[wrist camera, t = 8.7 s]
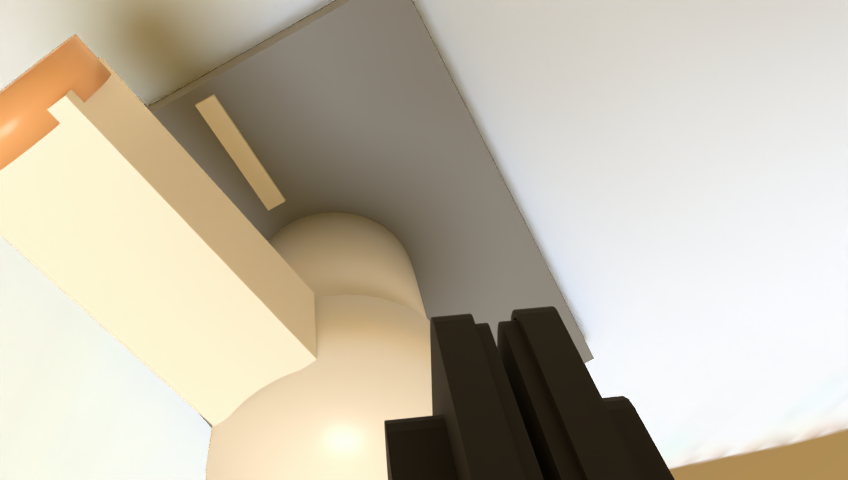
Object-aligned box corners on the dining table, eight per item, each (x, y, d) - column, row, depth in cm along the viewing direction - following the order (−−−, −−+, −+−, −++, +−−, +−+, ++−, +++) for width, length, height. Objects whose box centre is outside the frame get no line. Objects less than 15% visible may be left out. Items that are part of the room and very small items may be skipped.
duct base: (393, -33, 30) (429, 14, 22) (583, 340, 39) (657, 469, 31) (18, 180, 31) (-76, 296, 23) (286, 490, 40) (284, 649, 33)
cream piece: (505, 404, 28) (538, 493, 25) (318, 519, 30) (321, 621, 26) (152, -27, 20) (118, 4, 16) (-86, 156, 22) (-169, 226, 18)
